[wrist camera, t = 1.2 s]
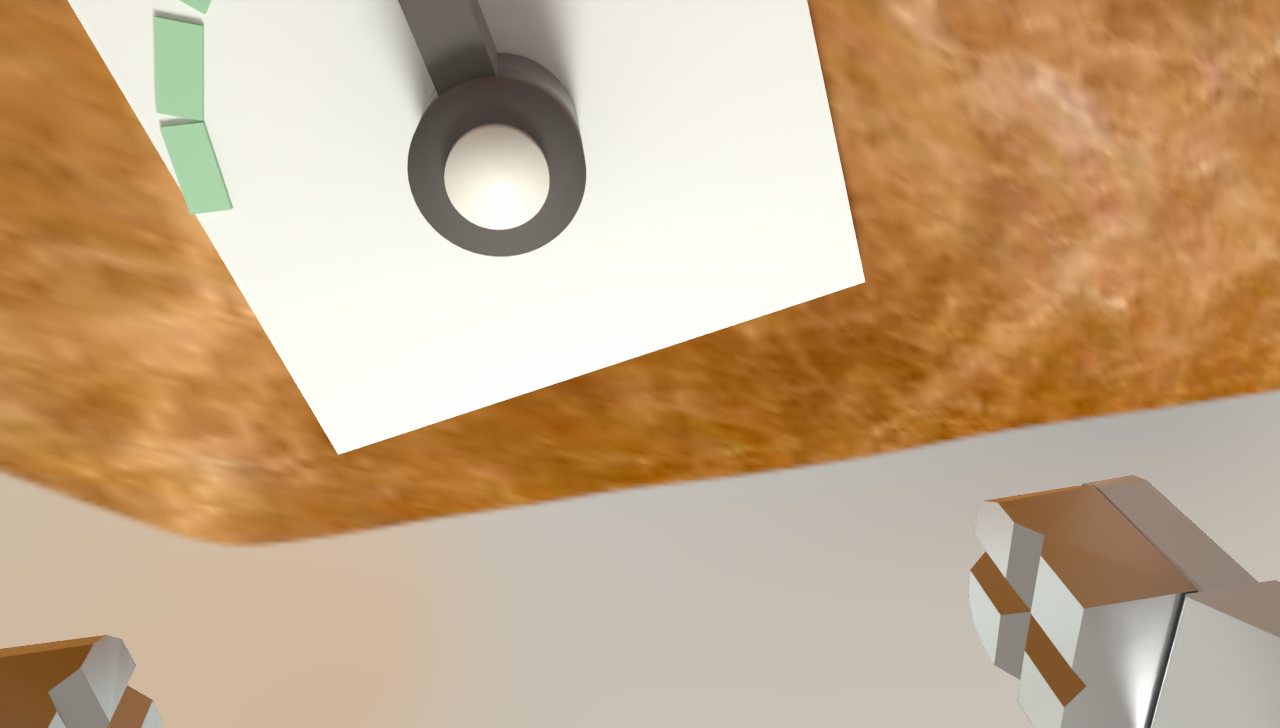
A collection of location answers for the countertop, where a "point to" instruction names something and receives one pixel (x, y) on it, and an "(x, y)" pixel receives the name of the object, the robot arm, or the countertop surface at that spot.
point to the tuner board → (451, 276)
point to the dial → (490, 138)
